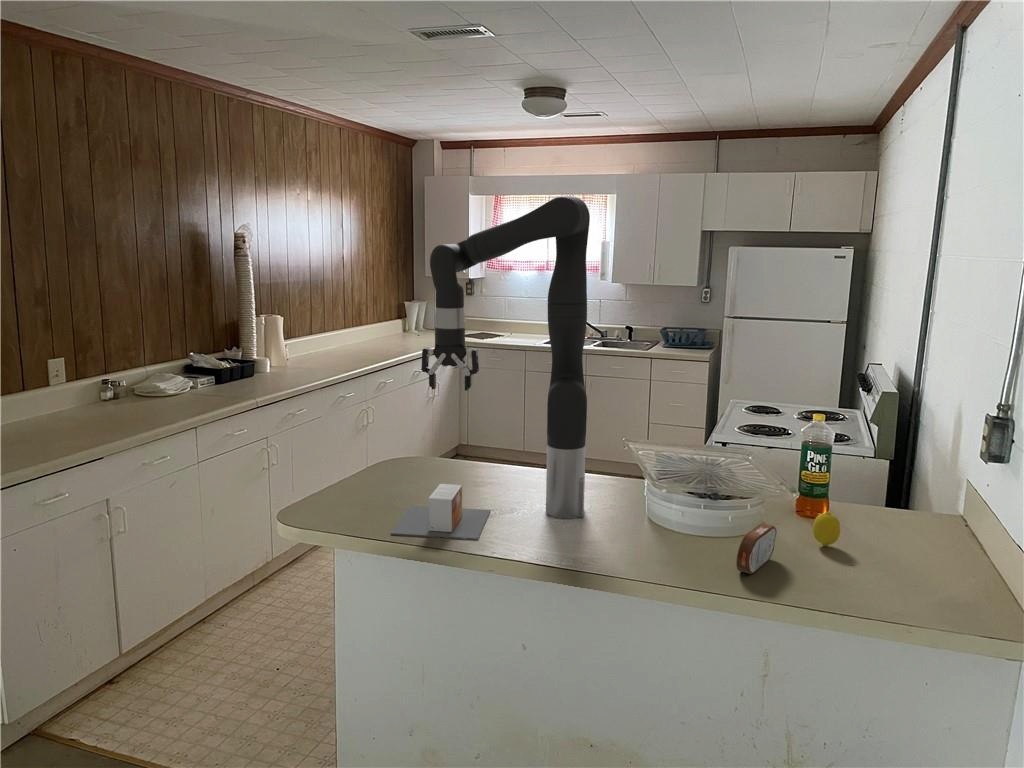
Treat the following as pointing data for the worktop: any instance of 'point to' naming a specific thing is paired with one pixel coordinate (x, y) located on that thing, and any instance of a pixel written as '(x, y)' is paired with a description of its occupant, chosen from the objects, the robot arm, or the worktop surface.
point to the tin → (756, 548)
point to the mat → (418, 525)
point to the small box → (445, 508)
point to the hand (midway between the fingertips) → (450, 389)
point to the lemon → (826, 529)
